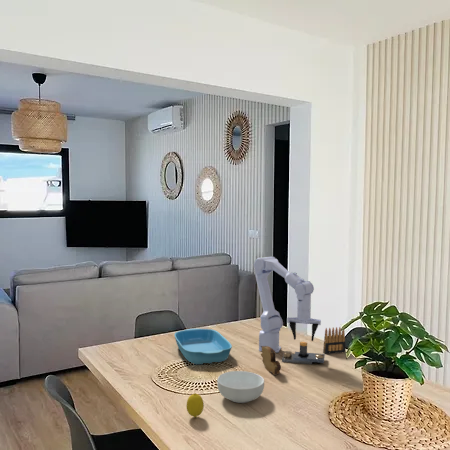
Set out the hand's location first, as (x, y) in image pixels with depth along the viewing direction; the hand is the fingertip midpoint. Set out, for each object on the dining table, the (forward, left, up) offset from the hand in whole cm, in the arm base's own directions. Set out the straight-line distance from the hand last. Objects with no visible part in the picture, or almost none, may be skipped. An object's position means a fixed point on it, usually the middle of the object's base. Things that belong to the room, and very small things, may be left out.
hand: (303, 339), depth 199 cm
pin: (0, 0, -9) cm, 9 cm away
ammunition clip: (+13, +15, -10) cm, 22 cm away
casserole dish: (-46, -3, -10) cm, 47 cm away
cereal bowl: (-18, -45, -10) cm, 49 cm away
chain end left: (-2, 0, -9) cm, 10 cm away
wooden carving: (-12, -16, -10) cm, 22 cm away
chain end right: (+3, 0, -9) cm, 10 cm away
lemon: (-29, -63, -10) cm, 70 cm away
